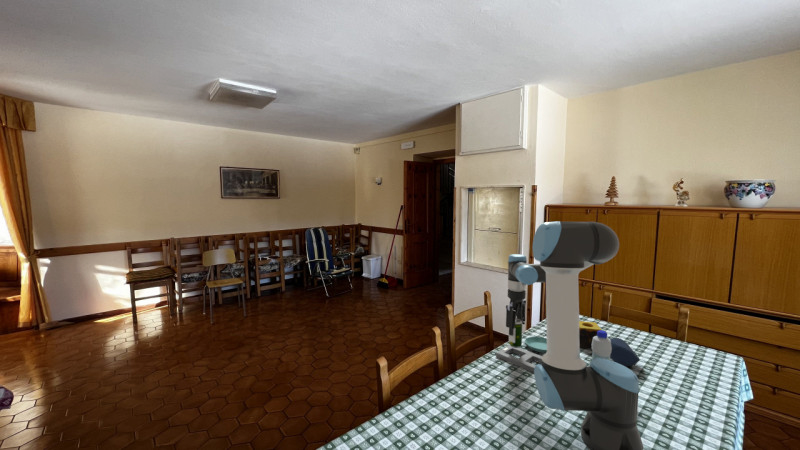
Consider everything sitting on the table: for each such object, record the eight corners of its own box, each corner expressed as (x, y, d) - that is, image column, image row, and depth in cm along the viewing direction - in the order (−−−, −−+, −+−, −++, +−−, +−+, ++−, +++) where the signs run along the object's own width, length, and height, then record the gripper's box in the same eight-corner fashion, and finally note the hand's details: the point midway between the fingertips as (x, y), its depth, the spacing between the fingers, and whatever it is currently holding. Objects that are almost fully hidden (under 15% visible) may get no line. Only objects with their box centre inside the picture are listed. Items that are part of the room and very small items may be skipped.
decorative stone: (612, 369, 132) (613, 346, 131) (601, 355, 144) (602, 334, 143) (644, 372, 129) (645, 349, 128) (630, 358, 141) (631, 337, 140)
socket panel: (544, 376, 127) (544, 371, 127) (496, 356, 143) (496, 352, 143) (557, 366, 135) (557, 361, 134) (510, 348, 151) (510, 344, 151)
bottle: (613, 386, 120) (615, 335, 119) (594, 384, 122) (596, 333, 120) (605, 376, 127) (607, 328, 125) (587, 374, 128) (589, 326, 127)
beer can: (518, 342, 145) (518, 317, 144) (523, 348, 140) (524, 321, 139) (506, 343, 145) (507, 317, 144) (512, 348, 140) (512, 322, 139)
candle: (577, 347, 152) (578, 327, 151) (572, 339, 161) (573, 320, 161) (601, 350, 149) (602, 330, 148) (595, 341, 158) (595, 322, 158)
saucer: (565, 352, 148) (565, 346, 147) (541, 358, 142) (541, 352, 142) (541, 339, 161) (541, 334, 161) (518, 344, 156) (518, 339, 156)
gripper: (513, 295, 131) (512, 349, 133) (534, 287, 143) (533, 336, 145) (497, 291, 137) (496, 343, 139) (519, 283, 149) (518, 331, 151)
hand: (515, 339), depth 142 cm, fingers closed on beer can, 5 cm apart
